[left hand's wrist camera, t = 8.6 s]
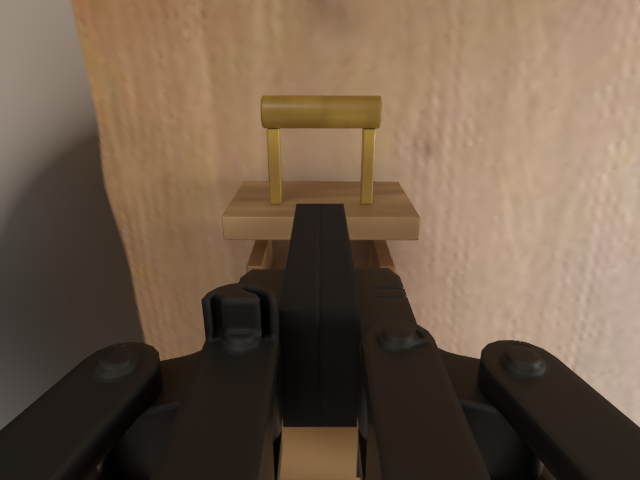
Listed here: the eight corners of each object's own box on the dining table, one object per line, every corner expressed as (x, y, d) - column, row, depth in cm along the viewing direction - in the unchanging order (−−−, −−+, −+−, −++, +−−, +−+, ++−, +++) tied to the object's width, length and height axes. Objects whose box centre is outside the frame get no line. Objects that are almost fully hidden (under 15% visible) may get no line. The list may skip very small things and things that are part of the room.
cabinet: (244, 294, 32) (219, 374, 24) (396, 294, 32) (422, 374, 24) (257, 480, 39) (241, 591, 31) (382, 480, 39) (398, 591, 31)
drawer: (237, 89, 25) (211, 99, 19) (405, 89, 25) (431, 100, 19) (257, 398, 34) (243, 473, 28) (383, 398, 34) (397, 473, 28)
